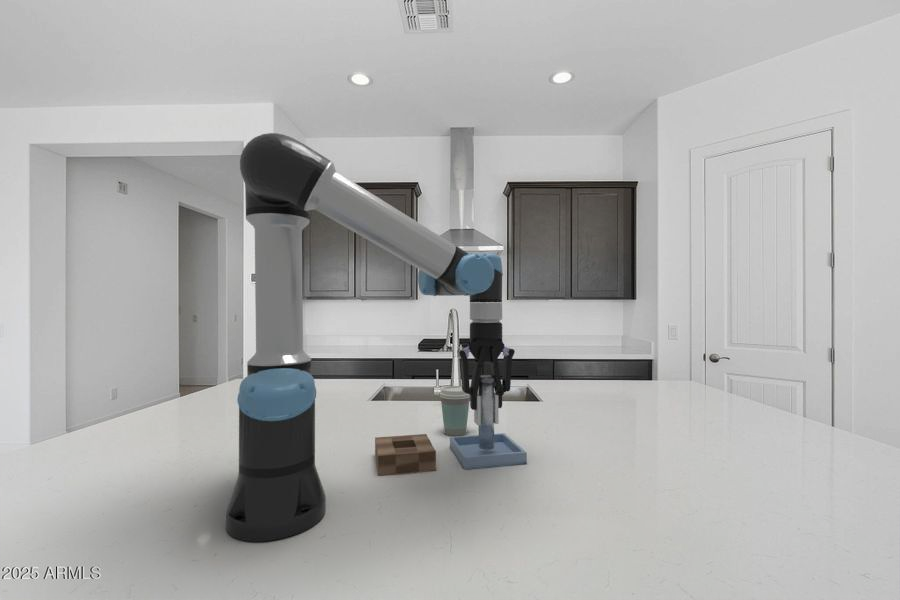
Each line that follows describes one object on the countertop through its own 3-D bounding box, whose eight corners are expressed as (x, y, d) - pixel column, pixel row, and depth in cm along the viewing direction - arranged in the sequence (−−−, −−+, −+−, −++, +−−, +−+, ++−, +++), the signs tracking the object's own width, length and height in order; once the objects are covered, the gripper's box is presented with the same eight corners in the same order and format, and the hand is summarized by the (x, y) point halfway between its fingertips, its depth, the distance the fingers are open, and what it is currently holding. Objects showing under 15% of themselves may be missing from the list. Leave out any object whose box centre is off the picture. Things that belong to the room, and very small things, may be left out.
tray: (526, 463, 92) (526, 452, 92) (464, 469, 89) (464, 457, 89) (504, 443, 106) (504, 433, 106) (449, 447, 103) (449, 437, 103)
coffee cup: (471, 428, 118) (471, 385, 118) (470, 438, 109) (470, 392, 110) (441, 427, 119) (441, 385, 119) (437, 437, 110) (437, 391, 110)
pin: (498, 449, 96) (497, 378, 96) (480, 450, 95) (480, 378, 95) (492, 443, 100) (491, 374, 100) (475, 444, 99) (474, 375, 99)
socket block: (435, 470, 89) (435, 451, 89) (377, 475, 86) (378, 455, 86) (426, 450, 100) (426, 433, 100) (375, 454, 98) (375, 437, 98)
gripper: (513, 320, 103) (514, 416, 103) (447, 321, 99) (447, 420, 99) (526, 321, 96) (526, 425, 96) (454, 322, 92) (455, 430, 92)
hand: (486, 422), depth 97 cm, fingers closed on pin, 3 cm apart
